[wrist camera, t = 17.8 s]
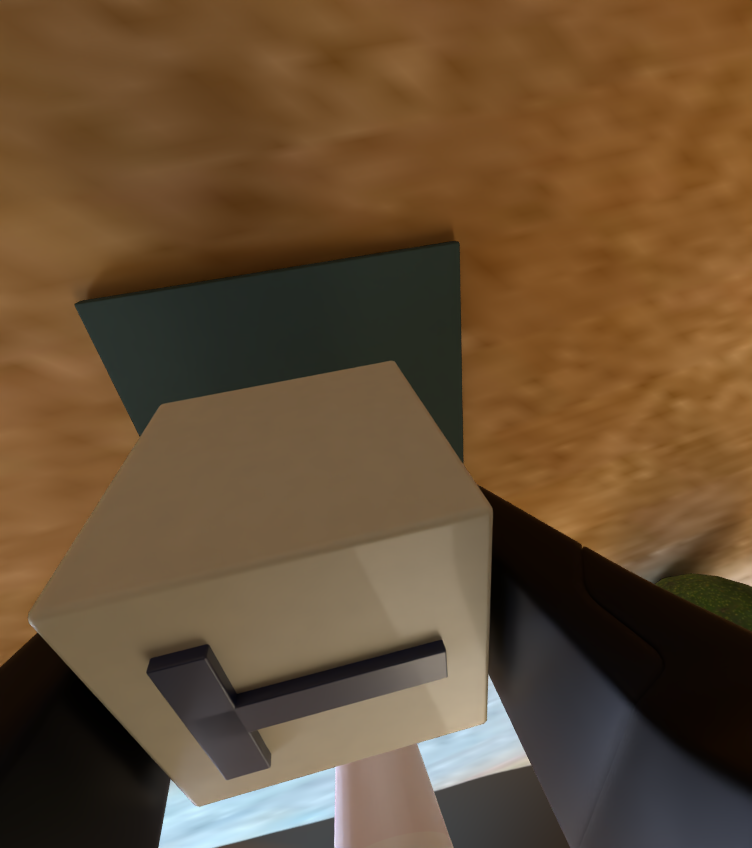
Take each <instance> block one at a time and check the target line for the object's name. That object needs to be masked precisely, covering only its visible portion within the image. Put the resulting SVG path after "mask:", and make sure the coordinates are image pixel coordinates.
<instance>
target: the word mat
mask: <svg viewBox="0 0 752 848" xmlns="http://www.w3.org/2000/svg"><path fill="white" fill-rule="evenodd" d="M75 307H76V309H77V311H78V313H79V315H80V317H81V319H82V321H83V323H84V325H85V327H86V329H87V331H88V333H89V335H90V337H91V339H92V341H93V343H94V345H95V347H96V349H97V351H98V353H99V355H100V357H101V359H102V362H103V364H104V366H105V368H106V370H107V372H108V374H109V376H110V378H111V380H112V382H113V384H114V386H115V388H116V390H117V392H118V394H119V396H120V398H121V400H122V402H123V404H124V406H125V408H126V410H127V412H128V414H129V416H130V418H131V420H132V422H133V424H134V426H135V428H136V430H137V432H138V434H139V436H141V435H142V433H143V431H144V430H145V428H146V427H147V425H148V424H149V422H150V420H151V419H152V417H153V416H154V414H155V413H156V411H157V409H158V408H159V406H160V405H162V404H165V403H170V402H176V401H181V400H186V399H192V398H197V397H202V396H207V395H213V394H218V393H223V392H229V391H234V390H239V389H244V388H250V387H255V386H260V385H265V384H271V383H276V382H281V381H287V380H292V379H297V378H302V377H308V376H313V375H318V374H324V373H329V372H334V371H339V370H345V369H350V368H355V367H360V366H366V365H371V364H376V363H382V362H387V361H395V363H396V364H397V366H398V367H399V369H400V370H401V372H402V373H403V375H404V376H405V378H406V379H407V381H408V382H409V384H410V385H411V387H412V388H413V390H414V391H415V393H416V394H417V396H418V397H419V399H420V400H421V402H422V403H423V405H424V406H425V408H426V409H427V411H428V412H429V414H430V415H431V417H432V418H433V420H434V421H435V423H436V424H437V426H438V427H439V429H440V430H441V432H442V433H443V435H444V436H445V438H446V439H447V441H448V442H449V444H450V445H451V447H452V448H453V450H454V451H455V453H456V454H457V456H458V457H459V459H460V460H461V462H462V463H463V410H462V354H461V298H460V243H459V242H457V241H451V242H445V243H439V244H432V245H426V246H420V247H414V248H407V249H401V250H395V251H389V252H382V253H376V254H370V255H364V256H358V257H351V258H345V259H339V260H333V261H326V262H320V263H314V264H308V265H301V266H295V267H289V268H283V269H276V270H270V271H264V272H258V273H251V274H245V275H239V276H233V277H226V278H220V279H214V280H208V281H202V282H195V283H189V284H183V285H177V286H170V287H164V288H158V289H152V290H145V291H139V292H133V293H127V294H120V295H114V296H108V297H102V298H95V299H89V300H83V301H79V302H77V303H75Z"/></svg>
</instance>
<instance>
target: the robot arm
mask: <svg viewBox="0 0 752 848" xmlns="http://www.w3.org/2000/svg"><path fill="white" fill-rule="evenodd" d="M477 486H478V487H479V489H480V490H481V492H482V493H483V494H484V496H485V497H486V499H487V500H488V502H489V503H490V505H491V507H492V509H493V526H492V561H491V595H490V630H489V664H488V674H489V676H490V678H491V680H492V682H493V684H494V687H495V689H496V691H497V693H498V695H499V697H500V699H501V701H502V704H503V706H504V708H505V710H506V712H507V714H508V716H509V718H510V721H511V723H512V725H513V727H514V729H515V731H516V733H517V735H518V737H519V740H520V742H521V744H522V746H523V748H524V750H525V752H526V754H527V757H528V759H529V761H530V763H531V765H532V767H533V769H534V771H535V774H536V776H537V778H538V780H539V782H540V784H541V786H542V788H543V791H544V793H545V795H546V797H547V799H548V801H549V803H550V805H551V808H552V810H553V812H554V814H555V816H556V818H557V820H558V822H559V824H560V826H561V829H562V831H563V833H564V835H565V837H566V839H567V841H568V844H569V846H570V848H752V631H750V630H747V629H745V628H743V627H741V626H739V625H737V624H735V623H733V622H731V621H729V620H727V619H725V618H722V617H720V616H718V615H716V614H714V613H712V612H710V611H708V610H706V609H704V608H702V607H700V606H698V605H695V604H693V603H691V602H689V601H687V600H685V599H683V598H681V597H679V596H677V595H675V594H673V593H671V592H669V591H667V590H665V589H663V588H661V587H659V586H657V585H655V584H653V583H651V582H649V581H647V580H645V579H643V578H641V577H639V576H638V575H636V574H634V573H632V572H630V571H628V570H627V569H625V568H623V567H621V566H619V565H617V564H616V563H614V562H612V561H610V560H608V559H607V558H605V557H603V556H601V555H600V554H598V553H596V552H594V551H593V550H591V549H589V548H587V547H583V548H582V545H581V544H580V543H578V542H577V541H575V540H573V539H571V538H570V537H568V536H566V535H564V534H563V533H561V532H559V531H558V530H556V529H554V528H552V527H551V526H549V525H547V524H545V523H544V522H542V521H540V520H538V519H537V518H535V517H533V516H531V515H530V514H528V513H526V512H524V511H523V510H521V509H519V508H518V507H516V506H514V505H512V504H511V503H509V502H507V501H505V500H504V499H502V498H500V497H498V496H497V495H495V494H493V493H491V492H490V491H488V490H486V489H484V488H483V487H481V486H479V485H478V484H477ZM170 780H171V778H170V777H169V776H168V775H167V774H166V773H165V772H164V771H163V770H162V769H161V767H160V766H159V765H158V764H157V763H156V762H155V761H154V760H153V759H152V758H151V756H150V755H149V754H148V753H147V752H146V751H145V750H144V749H143V748H142V747H141V745H140V744H139V743H138V742H137V741H136V740H135V739H134V738H133V737H132V736H131V734H130V733H129V732H128V731H127V730H126V729H125V728H124V727H123V726H122V725H121V724H120V722H119V721H118V720H117V719H116V718H115V717H114V716H113V715H112V714H111V713H110V711H109V710H108V709H107V708H106V707H105V706H104V705H103V704H102V703H101V702H100V700H99V699H98V698H97V697H96V696H95V695H94V694H93V693H92V692H91V691H90V689H89V688H88V687H87V686H86V685H85V684H84V683H83V682H82V681H81V680H80V678H79V677H78V676H77V675H76V674H75V673H74V672H73V671H72V670H71V669H70V667H69V666H68V665H67V664H66V663H65V662H64V661H63V660H62V659H61V658H60V656H59V655H58V654H57V653H56V652H55V651H54V650H53V649H52V648H51V647H50V645H49V644H48V643H47V642H46V641H45V640H44V639H43V638H42V637H41V636H40V634H39V633H37V634H36V635H35V636H34V637H32V638H31V639H30V640H29V641H28V642H27V643H26V644H25V645H24V646H23V647H22V648H21V649H20V650H18V651H17V652H16V653H15V654H14V655H13V656H12V657H11V658H10V659H9V660H8V661H7V662H5V663H4V664H3V665H2V666H1V667H0V848H158V846H159V841H160V835H161V830H162V824H163V818H164V813H165V807H166V802H167V796H168V791H169V785H170Z"/></svg>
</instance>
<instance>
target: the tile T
mask: <svg viewBox="0 0 752 848" xmlns="http://www.w3.org/2000/svg"><path fill="white" fill-rule="evenodd" d="M492 526H493V509H492V507H491V505H490V503H489V502H488V500H487V499H486V497H485V496H484V494H483V493H482V492H481V490H480V489H479V487H478V486H477V484H476V483H475V481H474V480H473V478H472V477H471V475H470V474H469V472H468V471H467V469H466V468H465V466H464V465H463V463H462V462H461V460H460V459H459V457H458V456H457V454H456V453H455V451H454V450H453V448H452V447H451V445H450V444H449V442H448V441H447V439H446V438H445V436H444V435H443V433H442V432H441V430H440V429H439V427H438V426H437V424H436V423H435V421H434V420H433V418H432V417H431V415H430V414H429V412H428V411H427V409H426V408H425V406H424V405H423V403H422V402H421V400H420V399H419V397H418V396H417V394H416V393H415V391H414V390H413V388H412V387H411V385H410V384H409V382H408V381H407V379H406V378H405V376H404V375H403V373H402V372H401V370H400V369H399V367H398V366H397V364H396V363H395V361H387V362H382V363H376V364H371V365H366V366H360V367H355V368H350V369H345V370H339V371H334V372H329V373H324V374H318V375H313V376H308V377H302V378H297V379H292V380H287V381H281V382H276V383H271V384H265V385H260V386H255V387H250V388H244V389H239V390H234V391H229V392H223V393H218V394H213V395H207V396H202V397H197V398H192V399H186V400H181V401H176V402H170V403H165V404H162V405H160V406H159V408H158V409H157V411H156V413H155V414H154V416H153V417H152V419H151V420H150V422H149V424H148V425H147V427H146V428H145V430H144V431H143V433H142V435H141V436H140V438H139V439H138V441H137V442H136V444H135V446H134V447H133V449H132V450H131V452H130V454H129V455H128V457H127V458H126V460H125V461H124V463H123V465H122V466H121V468H120V469H119V471H118V472H117V474H116V476H115V477H114V479H113V480H112V482H111V484H110V485H109V487H108V488H107V490H106V491H105V493H104V495H103V496H102V498H101V499H100V501H99V502H98V504H97V506H96V507H95V509H94V510H93V512H92V513H91V515H90V517H89V518H88V520H87V521H86V523H85V525H84V526H83V528H82V529H81V531H80V532H79V534H78V536H77V537H76V539H75V540H74V542H73V543H72V545H71V547H70V548H69V550H68V551H67V553H66V555H65V556H64V558H63V559H62V561H61V562H60V564H59V566H58V567H57V569H56V570H55V572H54V573H53V575H52V577H51V578H50V580H49V581H48V583H47V584H46V586H45V588H44V589H43V591H42V592H41V594H40V596H39V597H38V599H37V600H36V602H35V603H34V605H33V607H32V608H31V610H30V611H29V614H28V621H29V623H30V625H31V626H32V627H33V628H34V629H35V630H36V631H37V632H38V633H39V634H40V636H41V637H42V638H43V639H44V640H45V641H46V642H47V643H48V644H49V645H50V647H51V648H52V649H53V650H54V651H55V652H56V653H57V654H58V655H59V656H60V658H61V659H62V660H63V661H64V662H65V663H66V664H67V665H68V666H69V667H70V669H71V670H72V671H73V672H74V673H75V674H76V675H77V676H78V677H79V678H80V680H81V681H82V682H83V683H84V684H85V685H86V686H87V687H88V688H89V689H90V691H91V692H92V693H93V694H94V695H95V696H96V697H97V698H98V699H99V700H100V702H101V703H102V704H103V705H104V706H105V707H106V708H107V709H108V710H109V711H110V713H111V714H112V715H113V716H114V717H115V718H116V719H117V720H118V721H119V722H120V724H121V725H122V726H123V727H124V728H125V729H126V730H127V731H128V732H129V733H130V734H131V736H132V737H133V738H134V739H135V740H136V741H137V742H138V743H139V744H140V745H141V747H142V748H143V749H144V750H145V751H146V752H147V753H148V754H149V755H150V756H151V758H152V759H153V760H154V761H155V762H156V763H157V764H158V765H159V766H160V767H161V769H162V770H163V771H164V772H165V773H166V774H167V775H168V776H169V777H170V778H171V780H172V781H173V782H174V783H175V784H176V785H177V786H178V787H179V788H180V789H181V791H182V792H183V793H184V794H185V795H186V796H187V797H188V798H189V799H190V800H191V802H192V803H193V804H194V805H195V806H199V807H200V806H203V805H207V804H210V803H213V802H217V801H220V800H224V799H227V798H231V797H234V796H238V795H241V794H244V793H248V792H251V791H255V790H258V789H262V788H265V787H268V786H272V785H275V784H279V783H282V782H286V781H289V780H292V779H296V778H299V777H303V776H306V775H310V774H313V773H316V772H320V771H323V770H327V769H330V768H334V767H337V766H340V765H344V764H347V763H351V762H354V761H358V760H361V759H364V758H368V757H371V756H375V755H378V754H382V753H385V752H388V751H392V750H395V749H399V748H402V747H406V746H409V745H412V744H416V743H419V742H423V741H426V740H430V739H433V738H436V737H440V736H443V735H447V734H450V733H454V732H457V731H460V730H464V729H467V728H471V727H474V726H478V725H481V724H484V723H485V722H486V721H487V699H488V664H489V630H490V595H491V561H492Z"/></svg>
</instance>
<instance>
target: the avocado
mask: <svg viewBox="0 0 752 848" xmlns="http://www.w3.org/2000/svg"><path fill="white" fill-rule="evenodd" d="M655 585H657V586H659V587H661V588H663V589H665V590H667V591H669V592H671V593H673V594H675V595H677V596H679V597H681V598H683V599H685V600H687V601H689V602H691V603H693V604H695V605H698V606H700V607H702V608H704V609H706V610H708V611H710V612H712V613H714V614H716V615H718V616H720V617H722V618H725V619H727V620H729V621H731V622H733V623H735V624H737V625H739V626H741V627H743V628H745V629H747V630H750V631H752V587H751V586H749V585H746V584H743V583H739V582H735V581H732V580H728V579H725V578H722V577H719V576H711V575H702V574H692V573H690V574H685V575H679V576H674V577H668V578H663V579H662V580H660V581H659V582H657V583H656V584H655Z"/></svg>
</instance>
